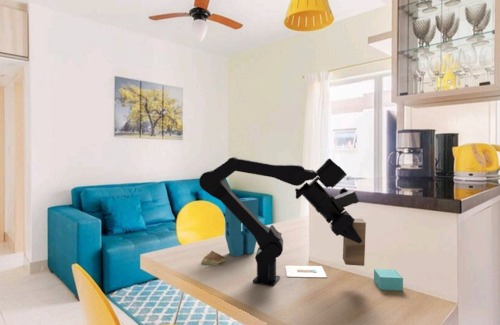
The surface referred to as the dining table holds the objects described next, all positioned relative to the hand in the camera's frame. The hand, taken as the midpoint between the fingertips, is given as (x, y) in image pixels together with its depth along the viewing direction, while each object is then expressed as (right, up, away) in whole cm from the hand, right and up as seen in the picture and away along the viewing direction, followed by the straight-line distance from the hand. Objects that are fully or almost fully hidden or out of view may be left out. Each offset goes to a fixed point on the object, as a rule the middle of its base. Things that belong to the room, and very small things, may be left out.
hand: (358, 239), depth 90 cm
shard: (-45, -13, +22) cm, 51 cm away
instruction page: (-13, -13, +11) cm, 21 cm away
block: (-34, -12, +29) cm, 46 cm away
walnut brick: (-1, -7, 0) cm, 7 cm away
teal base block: (+8, -13, 0) cm, 16 cm away
